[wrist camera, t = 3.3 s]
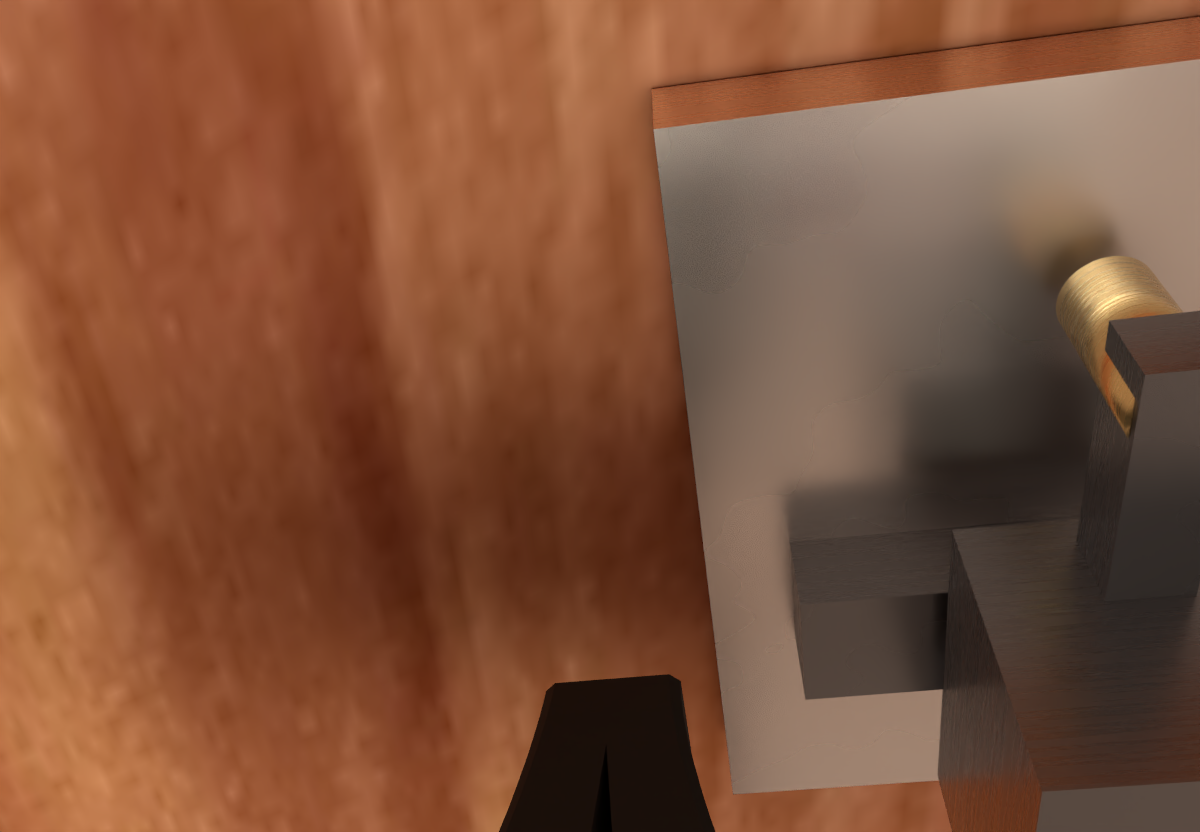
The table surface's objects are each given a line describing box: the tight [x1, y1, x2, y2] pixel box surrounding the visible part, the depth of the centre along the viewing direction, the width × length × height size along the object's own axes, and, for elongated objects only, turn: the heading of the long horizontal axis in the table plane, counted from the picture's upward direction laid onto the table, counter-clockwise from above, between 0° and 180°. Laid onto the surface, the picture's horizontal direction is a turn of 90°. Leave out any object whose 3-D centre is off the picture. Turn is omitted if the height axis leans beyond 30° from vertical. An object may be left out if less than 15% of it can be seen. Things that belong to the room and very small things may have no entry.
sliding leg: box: [937, 256, 1200, 832], centre depth 10 cm, size 3×6×4 cm, turn 8°
